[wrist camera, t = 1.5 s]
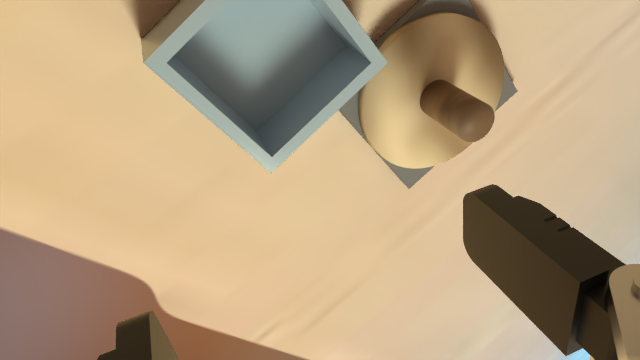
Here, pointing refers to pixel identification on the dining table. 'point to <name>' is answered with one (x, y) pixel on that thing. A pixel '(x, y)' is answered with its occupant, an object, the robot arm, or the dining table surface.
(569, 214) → the dining table surface
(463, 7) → the mat
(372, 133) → the lid
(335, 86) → the pale blue open box
